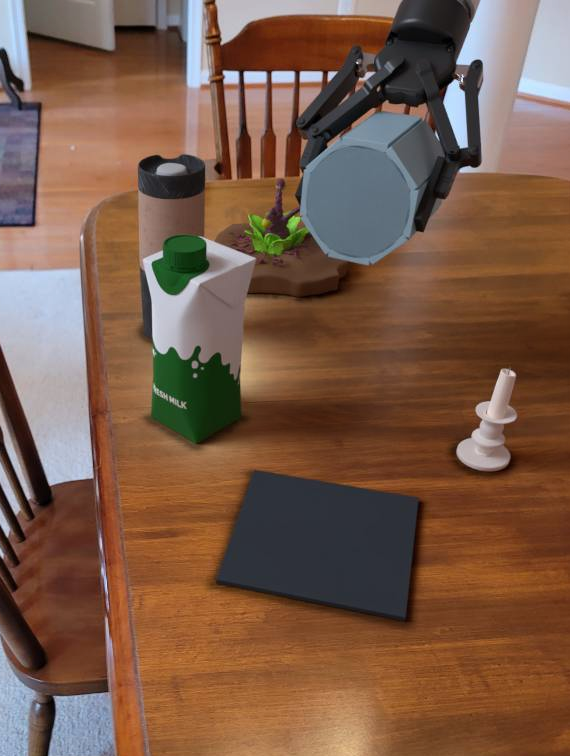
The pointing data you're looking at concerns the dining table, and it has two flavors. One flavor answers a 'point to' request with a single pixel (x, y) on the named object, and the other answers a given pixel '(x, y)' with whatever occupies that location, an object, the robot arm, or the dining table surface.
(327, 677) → the dining table surface
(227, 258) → the milk carton
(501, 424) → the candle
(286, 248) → the plant
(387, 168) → the pail
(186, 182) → the travel mug
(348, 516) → the mat
